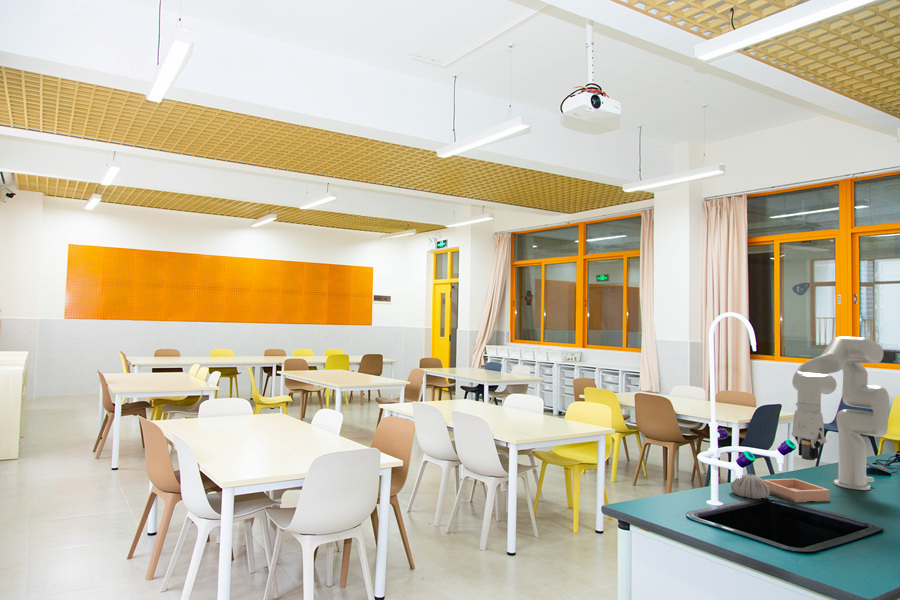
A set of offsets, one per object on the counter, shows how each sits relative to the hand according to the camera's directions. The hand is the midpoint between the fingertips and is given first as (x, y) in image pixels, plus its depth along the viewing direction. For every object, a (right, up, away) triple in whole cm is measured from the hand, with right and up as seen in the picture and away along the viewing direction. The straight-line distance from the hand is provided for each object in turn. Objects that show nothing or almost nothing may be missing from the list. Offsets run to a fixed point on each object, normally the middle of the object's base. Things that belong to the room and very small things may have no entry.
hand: (808, 456), depth 218 cm
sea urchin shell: (-19, -17, +5) cm, 26 cm away
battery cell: (0, -1, 0) cm, 1 cm away
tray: (0, -17, +8) cm, 19 cm away
